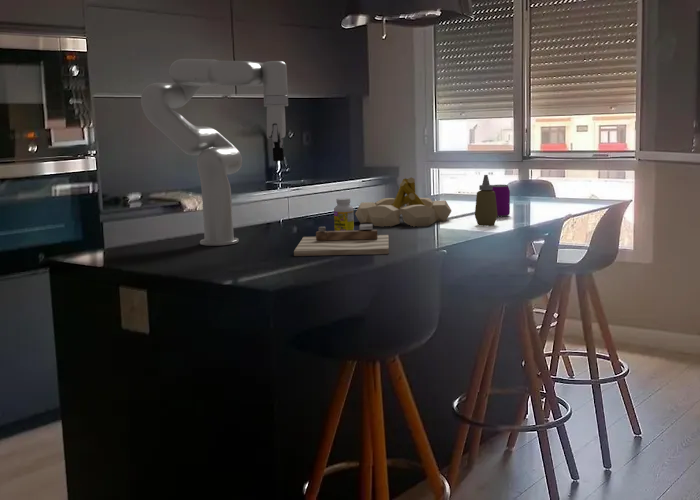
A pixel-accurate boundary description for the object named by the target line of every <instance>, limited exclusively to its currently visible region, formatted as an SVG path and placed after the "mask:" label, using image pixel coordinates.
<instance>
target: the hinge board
mask: <svg viewBox="0 0 700 500" xmlns="http://www.w3.org/2000/svg"><path fill="white" fill-rule="evenodd" d="M373 227H374V224H373V223H360V224H359V230H374V229H373ZM318 231H327V230H326V226H319V227H318ZM377 238H378V239H353V240H324V241H318V240H316V236H303V237H302V239H301V240H300V242H299V243H298V244H297V246H296V247H295V249H294V251H293V257H306V256H307V257H309V256H347V255H351V256H352V255H355V256H356V255H358V256H359V255H389V251H390V250H389V249H390V248H389V243H390V242H389V238H390V237H389V234H377Z"/></svg>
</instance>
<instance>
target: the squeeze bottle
mask: <svg viewBox="0 0 700 500" xmlns="http://www.w3.org/2000/svg"><path fill="white" fill-rule="evenodd" d="M493 185H494V184H490V179H489V176H488V174H484V175H483V179H482V184H479V187H478V189H479V190H478V191H477V192H476V198H475V207H474V208H475V209H474V217H475V221H476V222H477V225H478V226H481V227H491V226H494V225H495V224H496V220H497V218H498V217H497V205H496V196H495V192H494V191H492V189H493Z"/></svg>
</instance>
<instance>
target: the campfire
mask: <svg viewBox="0 0 700 500" xmlns="http://www.w3.org/2000/svg"><path fill="white" fill-rule="evenodd" d="M357 207H358V208H357V209H356V211H355V213H354V215H355V216H356V219H357V220H358V221H359V223H360V224H373V227H384V226H390V227H393V226H397V225H399V224H400V222H401V221H400V218H401V217H402V219H403V222H404V223H405V224H406V225H407V226H409V225H410V226H409V227H412V226H413V227H414V228H416V227H415V226H417V227H428V226H431V225H432V224H434V223H435V222H447V220H448V218H449V216H450V214H451V213H452V209H451V207H450V205H449V204H448V202H447V200H445V199H444V200H439V199H438V200H432V199H431V198H430V197H419V196H418V194H417V193H416V179H415V178H414V177H412V176H411V177H409V178H406V177H405V178H403V179H402V181H401V182H400V184H399V188H398V191H397V194H396V196H395V198H394V197H387V198H386V197H385V198H383V197H382V198H381V199H379V200H378V201H376V202H373V201H372V202H371V201H366V202H365V201H363V202H362V201H361V202H360V203H359V206H357ZM400 216H401V217H400ZM413 227H412V228H413Z"/></svg>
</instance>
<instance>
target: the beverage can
mask: <svg viewBox="0 0 700 500" xmlns="http://www.w3.org/2000/svg"><path fill="white" fill-rule="evenodd" d="M492 185H493V189H492V191H494V192H495V196H496V205H497V218H507V217H509V216H510V214H511V213H510V212H511V205H510V204H511V203H510V202H511V201H510V200H511V199H510V197H511V192H510V191H511V190H510V187H509V184H492Z"/></svg>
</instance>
